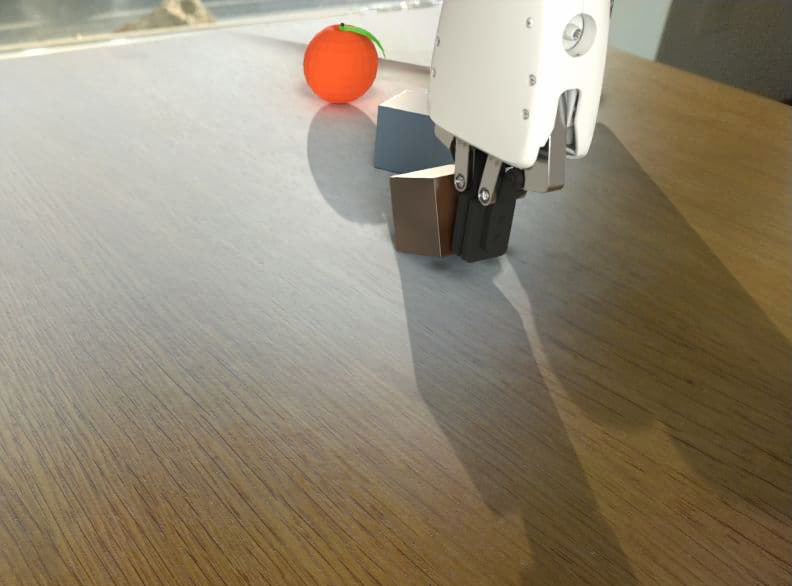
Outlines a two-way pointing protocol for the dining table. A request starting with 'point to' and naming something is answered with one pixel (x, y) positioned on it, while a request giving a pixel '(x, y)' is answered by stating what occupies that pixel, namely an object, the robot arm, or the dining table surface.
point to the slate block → (408, 135)
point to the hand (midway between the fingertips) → (478, 253)
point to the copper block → (425, 210)
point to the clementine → (341, 63)
